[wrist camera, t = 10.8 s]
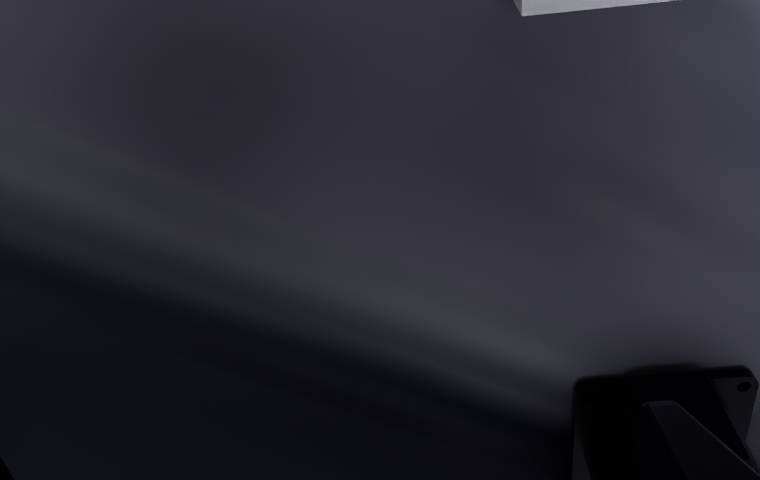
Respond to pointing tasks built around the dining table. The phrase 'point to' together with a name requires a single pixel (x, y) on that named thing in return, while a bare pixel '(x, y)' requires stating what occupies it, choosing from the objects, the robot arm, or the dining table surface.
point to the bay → (571, 5)
